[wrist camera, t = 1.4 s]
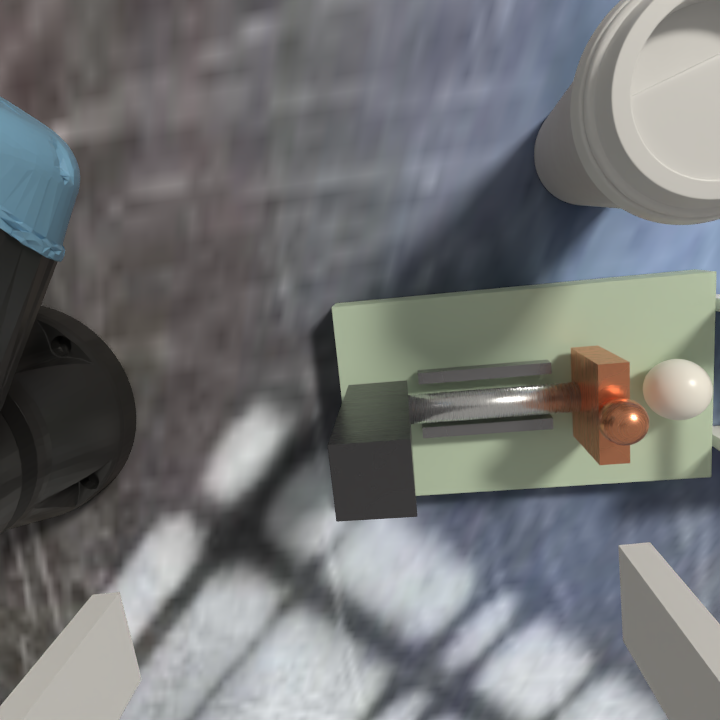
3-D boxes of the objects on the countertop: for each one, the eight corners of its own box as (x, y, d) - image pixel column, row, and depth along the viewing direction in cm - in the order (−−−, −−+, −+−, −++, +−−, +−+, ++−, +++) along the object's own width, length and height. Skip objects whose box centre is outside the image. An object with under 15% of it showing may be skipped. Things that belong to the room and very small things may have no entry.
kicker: (356, 450, 36) (338, 541, 25) (347, 366, 35) (324, 423, 24) (605, 433, 35) (700, 520, 24) (604, 344, 34) (703, 394, 23)
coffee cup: (673, 60, 33) (887, -80, 19) (663, 226, 35) (850, 216, 21) (508, 72, 34) (591, -55, 20) (508, 234, 36) (583, 229, 21)
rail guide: (422, 433, 36) (423, 438, 35) (417, 370, 36) (417, 373, 35) (549, 424, 36) (553, 428, 35) (547, 359, 35) (551, 362, 34)
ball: (633, 412, 35) (658, 430, 32) (632, 356, 35) (658, 369, 31) (692, 407, 35) (725, 426, 32) (693, 351, 34) (727, 363, 31)
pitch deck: (355, 484, 40) (352, 499, 38) (335, 303, 38) (331, 307, 35) (691, 462, 38) (711, 477, 36) (695, 269, 36) (716, 271, 33)
